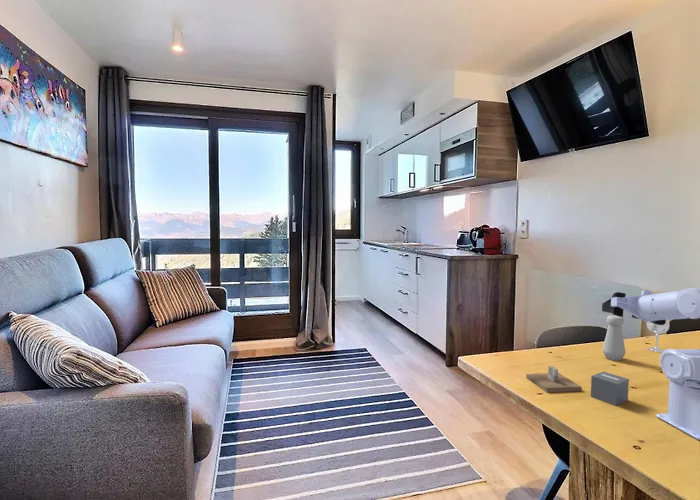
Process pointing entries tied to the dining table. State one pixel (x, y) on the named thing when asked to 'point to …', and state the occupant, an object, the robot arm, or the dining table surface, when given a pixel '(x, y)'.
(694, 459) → the dining table surface
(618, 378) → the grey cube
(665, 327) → the wineglass
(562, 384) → the base
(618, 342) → the salt shaker
